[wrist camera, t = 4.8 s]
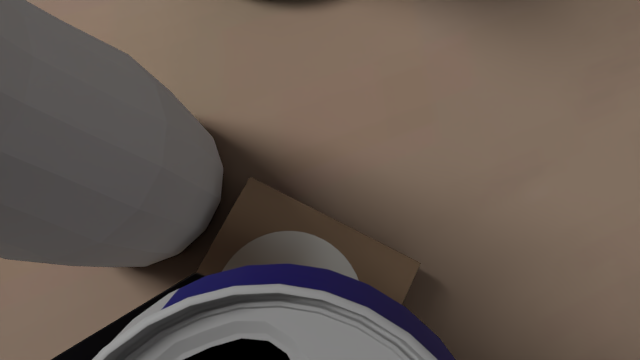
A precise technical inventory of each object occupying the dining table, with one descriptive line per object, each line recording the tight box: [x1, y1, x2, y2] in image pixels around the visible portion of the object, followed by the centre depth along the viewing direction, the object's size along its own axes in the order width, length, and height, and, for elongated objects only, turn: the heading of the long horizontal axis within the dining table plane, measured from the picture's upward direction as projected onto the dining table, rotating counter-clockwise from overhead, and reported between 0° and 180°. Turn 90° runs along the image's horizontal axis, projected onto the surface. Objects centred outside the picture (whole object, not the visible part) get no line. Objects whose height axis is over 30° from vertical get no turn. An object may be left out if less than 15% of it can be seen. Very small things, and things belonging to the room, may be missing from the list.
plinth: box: [196, 177, 421, 305], centre depth 21 cm, size 10×10×3 cm
